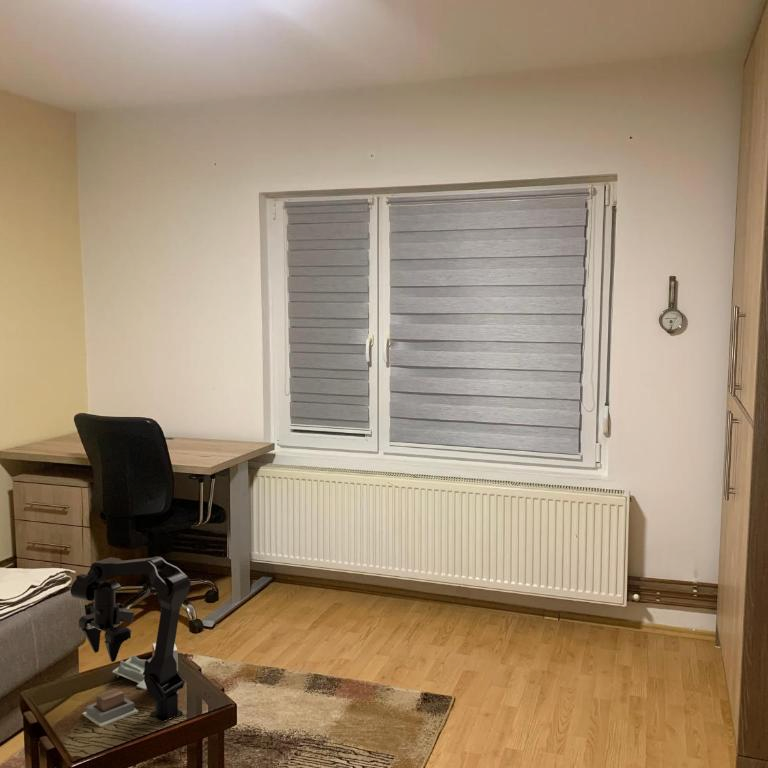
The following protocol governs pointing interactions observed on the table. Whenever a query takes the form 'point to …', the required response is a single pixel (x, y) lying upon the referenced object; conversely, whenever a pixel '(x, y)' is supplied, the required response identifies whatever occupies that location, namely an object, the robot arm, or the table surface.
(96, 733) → the table surface
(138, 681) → the metal bracket
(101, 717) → the socket board
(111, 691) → the walnut block
